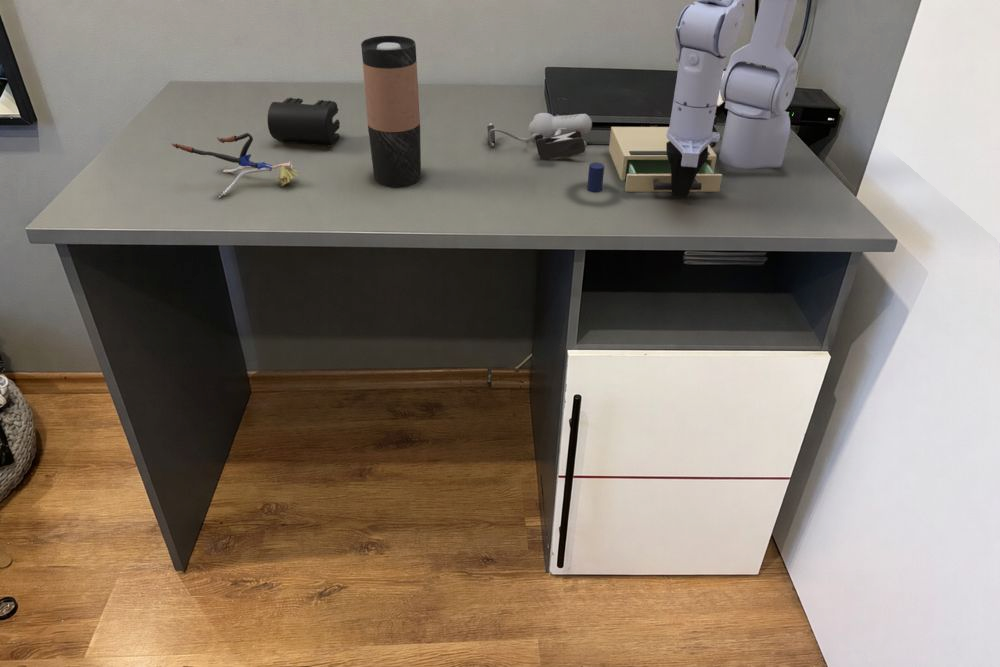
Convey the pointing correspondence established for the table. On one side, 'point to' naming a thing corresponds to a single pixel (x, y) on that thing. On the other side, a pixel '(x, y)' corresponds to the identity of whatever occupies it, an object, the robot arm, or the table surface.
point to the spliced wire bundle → (245, 161)
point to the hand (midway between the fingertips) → (679, 194)
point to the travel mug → (392, 109)
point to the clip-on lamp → (554, 134)
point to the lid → (595, 177)
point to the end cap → (304, 122)
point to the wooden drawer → (665, 177)
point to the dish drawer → (642, 146)
